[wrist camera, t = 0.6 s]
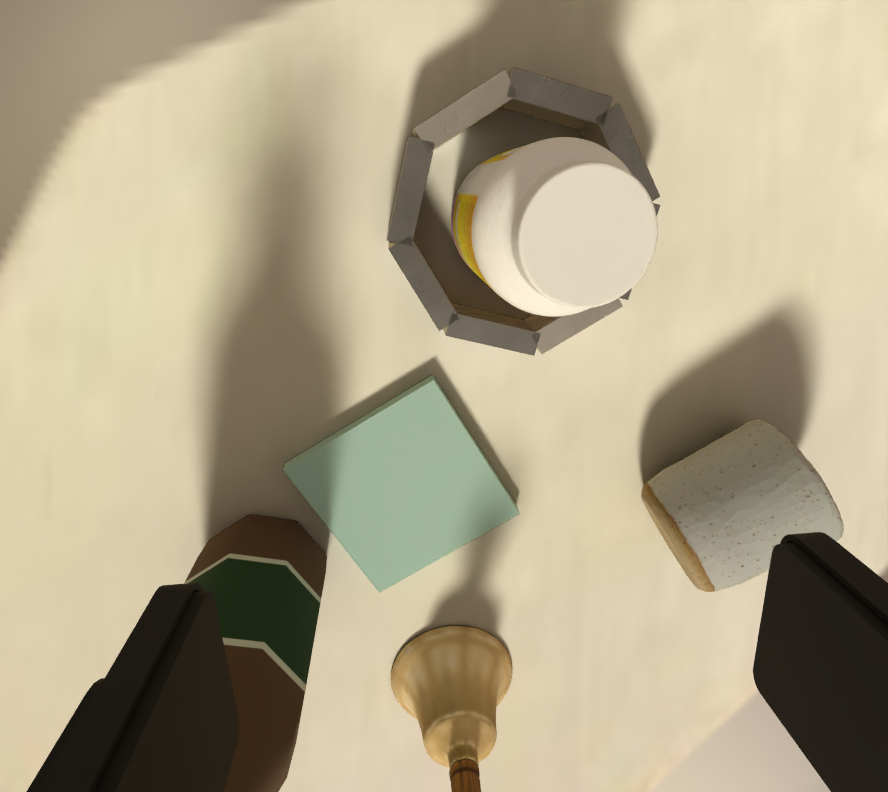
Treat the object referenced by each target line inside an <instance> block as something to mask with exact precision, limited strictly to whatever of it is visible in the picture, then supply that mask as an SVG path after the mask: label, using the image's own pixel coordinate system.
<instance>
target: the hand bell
mask: <svg viewBox="0 0 888 792" xmlns="http://www.w3.org/2000/svg"><path fill="white" fill-rule="evenodd" d="M511 678H512V663H511V658H510V656H509V654H508V652H507V650H506V649H505V647H504V646H503V645H502V644H501V642H500V641H499V640H498V639H496V638H495V637H494V636H492V635H491V634H489V633H487V632H485V631H483V630H480V629H477V628H472V627H465V626H447V627H442V628H437V629H433V630H430V631H428V632H426V633H424V634H422V635H420V636H418V637H417V638H415V639H414V640H412V641H410V642H409V643H408V644H407V645H406V646H405V647H404V648H403V650H402V651H401V652H400V653H399V655H398V656H397V658H396V660H395V662H394V664H393V668H392V672H391V686H392V690H393V693H394V695H395V697H396V699H397V701H398V702H399V703H400V705H401V706H402V707H403V708H404V709H405V710H406V711H407V712H408V713H409V714H410V715H412V716H413V717H415V718H417V719H418V722H419V725H420V728H421V731H422V736H423V741H424V746H425V749H426V751H427V753H428V755H429V756H430V757H431V758H432V759H433V760H434V761H435V762H437V763H439V764H440V765H443V766H446V767H450V771H449V775H450V780H451V788H452V792H481V788H480V779H479V768H478V762H480V761H482V760H483V759H484V758H486V757H487V756H488V755H489V754H490V752H491V751H492V749H493V747H494V745H495V742H496V737H497V732H496V706H497V705H498V704H499V703H500V702H501V701H502V699H503V698H504V696H505V694H506V693H507V691H508V688H509V686H510V682H511Z"/></svg>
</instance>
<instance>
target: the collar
mask: <svg viewBox="0 0 888 792" xmlns="http://www.w3.org/2000/svg"><path fill="white" fill-rule="evenodd" d="M611 101H612V97H610V96H607V95H603V94H600V93H597V92H593V91H590V90H587V89H584V88H580V87H577V86H574V85H570V84H567V83H564V82H560V81H557V80H554V79H550V78H547V77H544V76H541V75H537V74H534V73H531V72H527V71H524V70H521V69H517V68H513V69H512V70H511V71H510V72H509V73H508V74H507V72H506V70H505V69H504V70H503V71H501V72H499V73H498V74H496V75H495V76H493V77H492V78H490V79H489V80H487V81H486V82H484V83H483V84H481V85H480V86H478V87H476V88H475V89H473V90H472V91H470V92H469V93H467V94H466V95H464V96H463V97H461V98H460V99H458V100H457V101H455V102H454V103H452V104H450V105H449V106H447V107H446V108H444V109H443V110H441V111H440V112H438V113H437V114H435V115H434V116H432V117H431V118H429V119H427V120H426V121H424V122H423V123H421V124H420V125H418V126H417V127H415V128H414V130H413V133H412V134H413V136H414V137H412V136H409V138H408V141H407V146H406V150H405V155H404V160H403V164H402V169H401V174H400V178H399V183H398V188H397V193H396V197H395V202H394V207H393V211H392V216H391V221H390V225H389V230H388V235H387V240H388V241H392V242H390V243H389V248H388V249H389V251H390V252H391V254H392V255H393V257H394V259H395V260H396V262H397V264H398V265H399V267H400V268H401V270H402V272H403V273H404V275H405V276H406V278H407V280H408V281H409V283H410V284H411V286H412V288H413V289H414V291H415V293H416V294H417V296H418V297H419V299H420V301H421V302H422V304H423V305H424V307H425V309H426V310H427V312H428V313H429V315H430V317H431V318H432V320H433V322H434V323H435V325H436V326H437V328H438V330H439V331H440V330H442V329H444V332H445V335H446V336H450V337H454V338H459V339H463V340H468V341H472V342H477V343H481V344H485V345H490V346H494V347H499V348H503V349H507V350H512V351H516V352H521V353H525V354H530V355H534V354H535V351H536V348H537V349H538V351H539V352H540V353H541V354H543V353H545V352H546V351H548V350H550V349H552V348H553V347H555V346H557V345H558V344H560V343H562V342H563V341H565V340H567V339H568V338H570V337H572V336H573V335H575V334H577V333H579V332H580V331H582V330H584V329H585V328H587V327H589V326H590V325H592V324H594V323H595V322H597V321H599V320H600V319H602V318H604V317H606V316H607V315H609V314H611V313H612V312H614V311H616V310H617V309H619V308H621V307H622V304H621V302H620V300H619V298H622V299H626V300H628V298H629V295H630V292H631V289H632V288H631V289H630V290H629V291H628V292H626V293H625V294H624V295H622V296H621V297H619V298H617V299H616V300H614V301H612V302H610V303H608V304H604V305H601V306H597V307H592V308H589V309H587V310H585V311H582V312H579V313H576V314H572V315H566V316H541V315H536V314H532V315H531V316H529V317H527V318H526V319H524V320H522V319H518V318H514V317H510V316H505V315H501V314H497V313H493V312H488V311H484V310H480V309H476V308H471V307H467V306H463V305H459V304H454V303H451V301H450V300H449V298H448V296H447V295H446V293H445V291H444V290H443V288H442V286H441V285H440V283H439V281H438V280H437V278H436V276H435V275H434V273H433V271H432V270H431V268H430V266H429V265H428V263H427V261H426V260H425V258H424V256H423V255H422V253H421V251H420V250H419V248H418V246H417V245H416V243H415V241H414V240H413V238H414V234H415V229H416V225H417V220H418V216H419V212H420V207H421V203H422V198H423V194H424V189H425V185H426V181H427V176H428V172H429V167H430V163H431V159H432V154H433V150H435V149H436V148H438V147H440V146H441V145H443V144H444V143H446V142H447V141H449V140H450V139H452V138H453V137H455V136H457V135H458V134H460V133H461V132H463V131H464V130H466V129H467V128H469V127H470V126H472V125H474V124H475V123H477V122H478V121H480V120H481V119H483V118H484V117H486V116H488V115H489V114H491V113H492V112H494V111H495V110H497V109H498V108H500V107H504V108H507V109H511V110H514V111H518V112H521V113H524V114H528V115H531V116H535V117H538V118H542V119H545V120H549V121H552V122H555V123H559V124H562V125H566V126H569V127H573V128H576V129H579V130H580V132H581V134H582V136H583V138H584V140H588V141H591V142H594V143H596V144H598V145H600V146H602V147H604V148H606V149H607V150H609V151H610V152H612V153H613V154H614V155H615V156H617V157H618V158H619V159H620V160H621V161H622V162H623V163H624V164H625V166H626V167H627V168H628V169H629V171H630V172H631V174H632V175H633V176H634V177H635V178H636V179H638V180H639V181H640V183H641V184H642V185H643V186H644V188H645V189H646V191H647V192H648V194H649V196H650V198H651V200H652V201H654V200H655V199H657V198H658V197H660V195H659V193H658V190H657V188H656V186H655V184H654V181H653V179H652V177H651V175H650V172H649V170H648V168H647V166H646V163H645V161H644V159H643V156H642V154H641V152H640V150H639V147H638V145H637V143H636V141H635V138H634V136H633V134H632V132H631V129H630V127H629V125H628V122H627V120H626V118H625V116H624V113H623V111H622V109H621V107H620V104H619V103H618V104H615V105H613V106H610V104H611ZM653 205H654V208H655V212H656V216H657V214H658V211H659V208H660V205H658V204H654V203H653Z"/></svg>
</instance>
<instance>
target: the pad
mask: <svg viewBox="0 0 888 792" xmlns="http://www.w3.org/2000/svg"><path fill="white" fill-rule="evenodd" d="M283 471H284V472H285V474H286V475H287V476H288V478H289V479H290V480H291V481H292V483H293V484H294V485H295V486H296V488H297V489H298V490H299V491H300V493H301V494H302V495H303V497H304V498H305V499H306V500H307V502H308V503H309V504H310V505H311V507H312V508H313V509H314V510H315V512H316V513H317V514H318V515H319V517H320V518H321V519H322V521H323V522H324V523H325V524H326V526H327V527H328V528H329V529H330V531H331V532H332V533H333V534H334V536H335V537H336V538H337V540H338V541H339V542H340V543H341V545H342V546H343V547H344V548H345V550H346V551H347V552H348V553H349V555H350V556H351V557H352V558H353V560H354V561H355V562H356V564H357V565H358V566H359V567H360V569H361V570H362V571H363V572H364V574H365V575H366V576H367V577H368V579H369V580H370V581H371V583H372V584H373V585H374V586H375V588H376V589H377V590H378V591H379V593H380V592H382V591H383V590H385V589H387V588H389V587H390V586H392V585H394V584H396V583H398V582H399V581H401V580H403V579H405V578H406V577H408V576H410V575H412V574H414V573H415V572H417V571H419V570H421V569H422V568H424V567H426V566H428V565H430V564H431V563H433V562H435V561H437V560H438V559H440V558H442V557H444V556H445V555H447V554H449V553H451V552H453V551H454V550H456V549H458V548H460V547H461V546H463V545H465V544H467V543H469V542H470V541H472V540H474V539H476V538H477V537H479V536H481V535H483V534H485V533H486V532H488V531H490V530H492V529H493V528H495V527H497V526H499V525H500V524H502V523H504V522H506V521H508V520H509V519H511V518H513V517H515V516H516V515H518V514H520V513H519V511H518V508H517V506H516V504H515V502H514V501H513V499H512V498H511V496H510V495H509V493H508V491H507V490H506V488H505V487H504V485H503V484H502V482H501V481H500V479H499V477H498V476H497V474H496V473H495V471H494V470H493V468H492V467H491V465H490V463H489V462H488V460H487V459H486V457H485V456H484V454H483V453H482V451H481V449H480V448H479V446H478V445H477V443H476V442H475V440H474V439H473V437H472V435H471V434H470V432H469V431H468V429H467V428H466V426H465V425H464V423H463V421H462V420H461V418H460V417H459V415H458V414H457V412H456V411H455V409H454V407H453V406H452V404H451V403H450V401H449V400H448V398H447V397H446V395H445V393H444V392H443V390H442V389H441V387H440V386H439V384H438V383H437V381H436V379H435V378H434V376H433V375H431V376H429V377H428V378H426V379H424V380H423V381H421V382H419V383H418V384H416V385H414V386H413V387H411V388H409V389H408V390H406V391H404V392H403V393H401V394H399V395H398V396H396V397H394V398H393V399H391V400H389V401H388V402H386V403H384V404H383V405H381V406H379V407H378V408H376V409H374V410H373V411H371V412H369V413H368V414H366V415H364V416H363V417H361V418H359V419H358V420H356V421H354V422H353V423H351V424H349V425H348V426H346V427H344V428H343V429H341V430H339V431H338V432H336V433H334V434H333V435H331V436H329V437H328V438H326V439H324V440H323V441H321V442H319V443H318V444H316V445H314V446H313V447H311V448H309V449H308V450H306V451H304V452H303V453H301V454H299V455H298V456H296V457H294V458H293V459H291V460H290V461H288V462H286V463H285V466H284V469H283Z"/></svg>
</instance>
